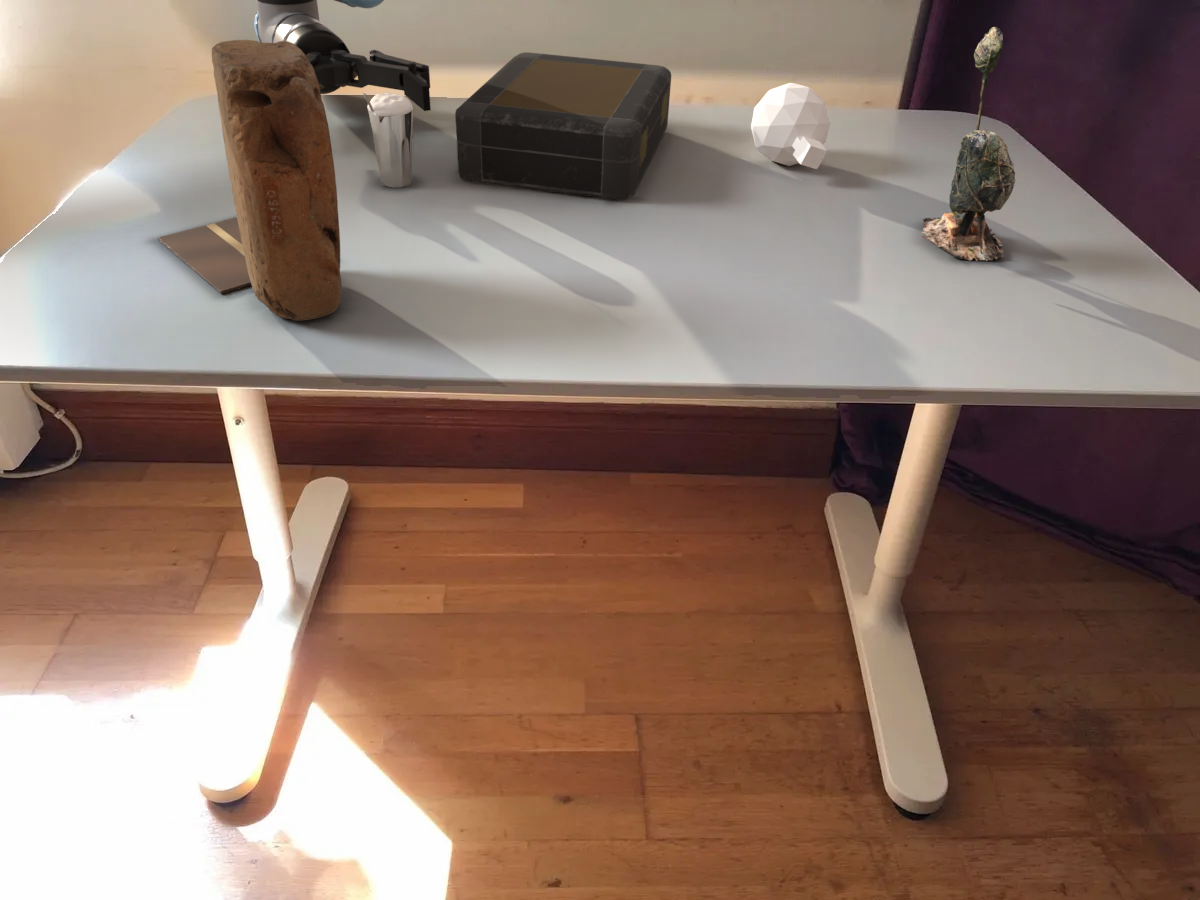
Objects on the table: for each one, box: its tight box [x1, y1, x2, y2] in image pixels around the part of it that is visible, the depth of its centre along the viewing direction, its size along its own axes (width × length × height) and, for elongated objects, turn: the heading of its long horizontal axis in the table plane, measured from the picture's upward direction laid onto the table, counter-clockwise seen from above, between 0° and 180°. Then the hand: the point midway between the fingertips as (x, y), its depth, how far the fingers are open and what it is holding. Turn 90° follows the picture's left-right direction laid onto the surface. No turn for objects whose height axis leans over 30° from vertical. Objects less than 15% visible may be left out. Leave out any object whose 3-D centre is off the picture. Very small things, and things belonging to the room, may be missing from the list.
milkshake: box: [362, 92, 414, 189], centre depth 99 cm, size 4×5×10 cm
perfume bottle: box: [750, 82, 831, 170], centre depth 109 cm, size 9×9×12 cm
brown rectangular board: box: [157, 216, 252, 295], centre depth 88 cm, size 14×10×1 cm
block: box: [211, 39, 342, 322], centre depth 75 cm, size 11×8×20 cm
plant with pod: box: [921, 26, 1016, 262], centre depth 89 cm, size 8×11×20 cm
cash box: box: [454, 52, 672, 200], centre depth 109 cm, size 25×20×8 cm
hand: (367, 105), depth 104 cm, fingers open, 13 cm apart
